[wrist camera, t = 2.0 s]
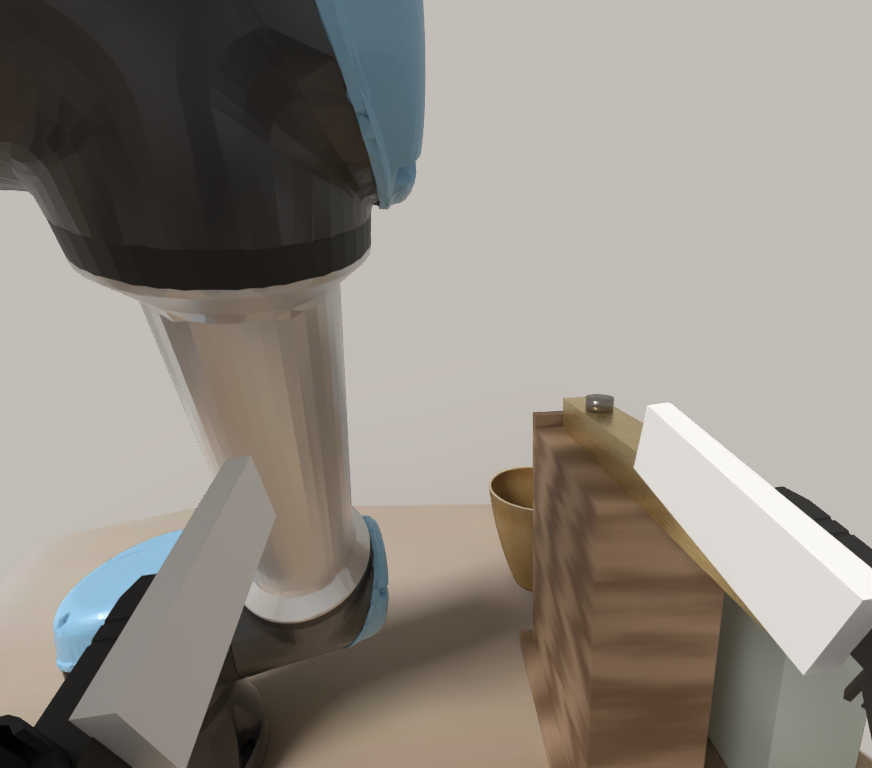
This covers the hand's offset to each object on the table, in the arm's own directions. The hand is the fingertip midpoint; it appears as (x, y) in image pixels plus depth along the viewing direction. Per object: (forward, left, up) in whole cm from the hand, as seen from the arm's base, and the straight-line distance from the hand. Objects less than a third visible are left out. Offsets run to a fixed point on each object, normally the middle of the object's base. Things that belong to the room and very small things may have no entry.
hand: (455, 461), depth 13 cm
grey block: (+8, +32, -38) cm, 51 cm away
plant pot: (-20, +39, -39) cm, 59 cm away
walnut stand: (-4, +24, -38) cm, 46 cm away
